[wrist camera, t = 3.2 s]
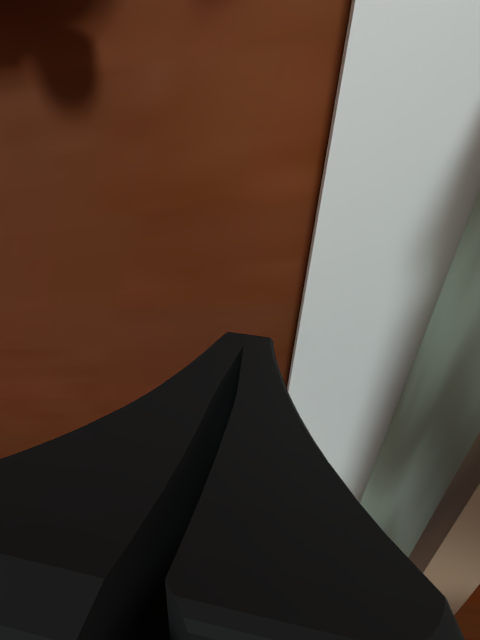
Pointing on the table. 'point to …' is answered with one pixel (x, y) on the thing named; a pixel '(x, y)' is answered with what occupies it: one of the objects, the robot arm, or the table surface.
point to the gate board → (385, 218)
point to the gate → (439, 439)
